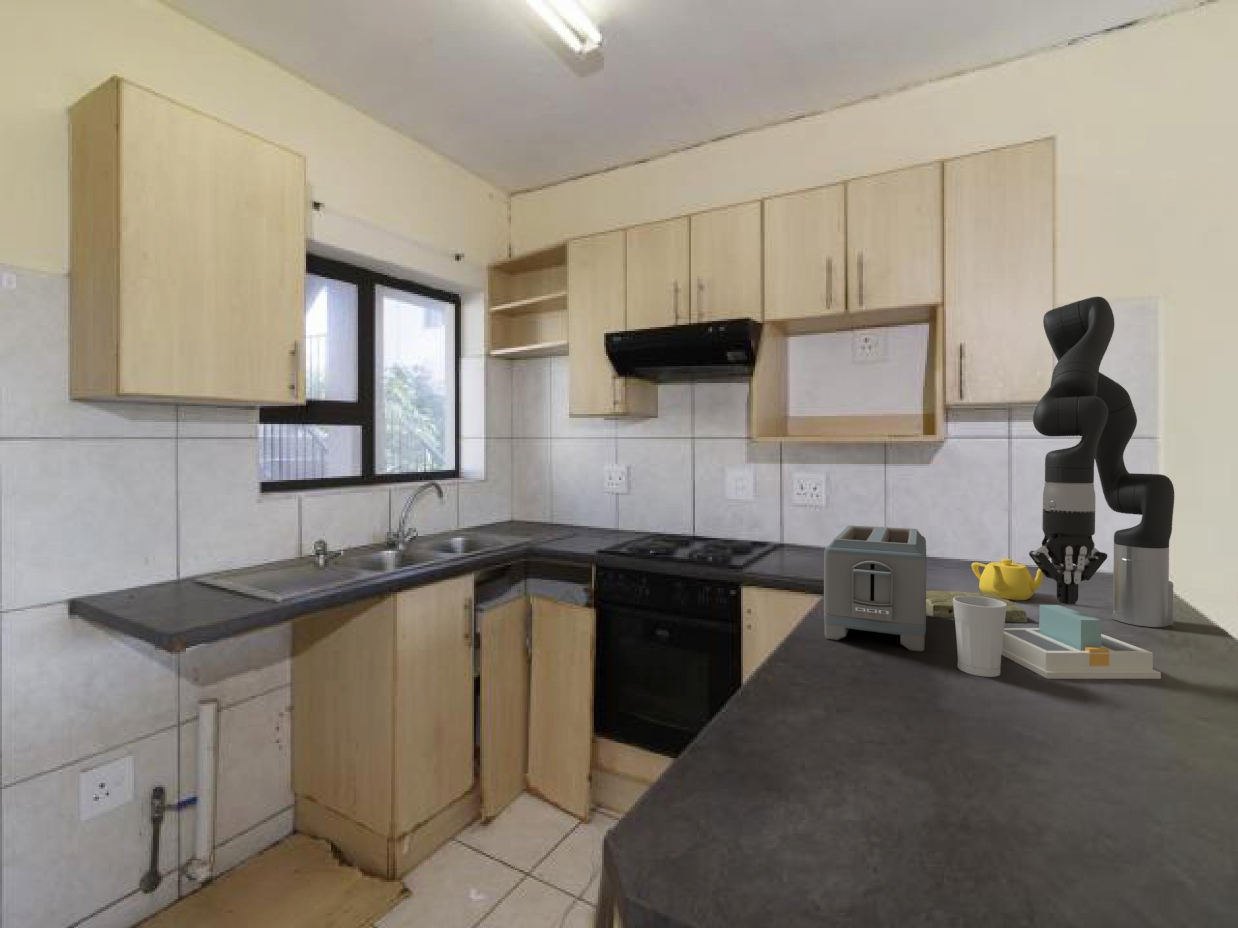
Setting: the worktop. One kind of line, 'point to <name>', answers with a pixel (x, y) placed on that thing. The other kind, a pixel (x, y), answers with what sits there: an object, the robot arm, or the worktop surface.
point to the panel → (1069, 627)
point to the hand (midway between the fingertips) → (1067, 603)
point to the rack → (1077, 657)
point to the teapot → (1007, 579)
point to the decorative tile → (943, 600)
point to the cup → (979, 634)
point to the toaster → (876, 583)
